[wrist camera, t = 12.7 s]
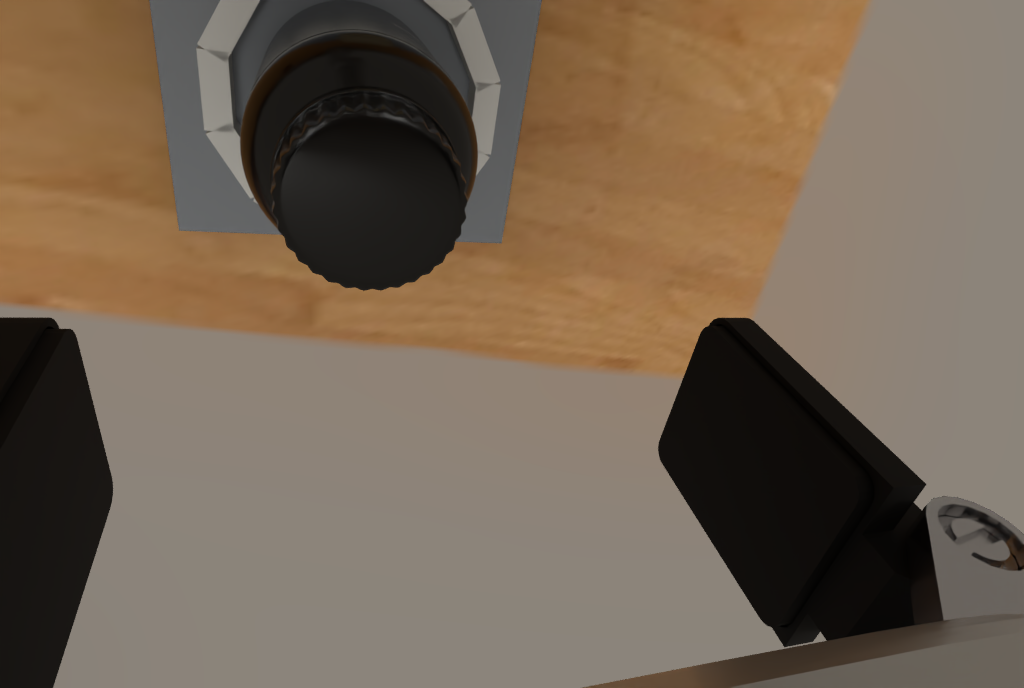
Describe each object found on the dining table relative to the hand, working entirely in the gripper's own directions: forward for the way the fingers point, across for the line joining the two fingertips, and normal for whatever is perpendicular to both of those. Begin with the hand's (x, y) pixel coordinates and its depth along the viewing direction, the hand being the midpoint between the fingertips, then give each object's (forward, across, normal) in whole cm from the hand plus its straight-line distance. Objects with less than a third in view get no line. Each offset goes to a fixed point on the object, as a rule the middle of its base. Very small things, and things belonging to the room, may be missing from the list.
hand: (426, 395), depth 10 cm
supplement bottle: (+19, 0, 0) cm, 19 cm away
